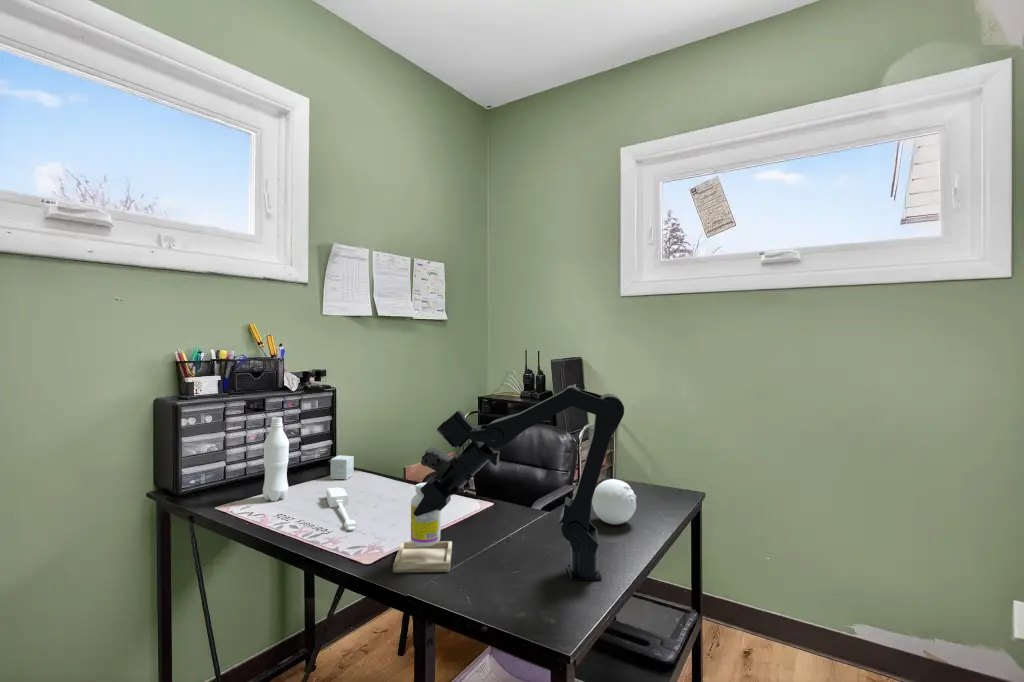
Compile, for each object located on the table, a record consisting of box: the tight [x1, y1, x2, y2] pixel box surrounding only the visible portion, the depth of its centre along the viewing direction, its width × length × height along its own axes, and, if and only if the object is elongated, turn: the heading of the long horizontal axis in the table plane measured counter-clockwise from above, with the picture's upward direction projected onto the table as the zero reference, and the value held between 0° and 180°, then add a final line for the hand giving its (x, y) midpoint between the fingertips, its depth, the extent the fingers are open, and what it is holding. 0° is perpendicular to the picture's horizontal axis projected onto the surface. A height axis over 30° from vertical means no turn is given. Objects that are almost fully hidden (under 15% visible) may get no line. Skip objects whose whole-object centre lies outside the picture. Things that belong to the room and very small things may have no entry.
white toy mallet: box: [325, 487, 357, 531], centre depth 144 cm, size 5×32×3 cm, turn 28°
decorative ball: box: [591, 478, 637, 525], centre depth 140 cm, size 12×12×12 cm
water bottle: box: [262, 416, 290, 502], centre depth 155 cm, size 7×7×25 cm
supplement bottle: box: [410, 481, 442, 546], centre depth 114 cm, size 7×7×13 cm
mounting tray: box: [392, 540, 453, 573], centre depth 114 cm, size 12×12×2 cm
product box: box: [330, 454, 355, 480], centre depth 180 cm, size 6×6×7 cm
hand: (420, 509), depth 114 cm, fingers closed on supplement bottle, 7 cm apart
